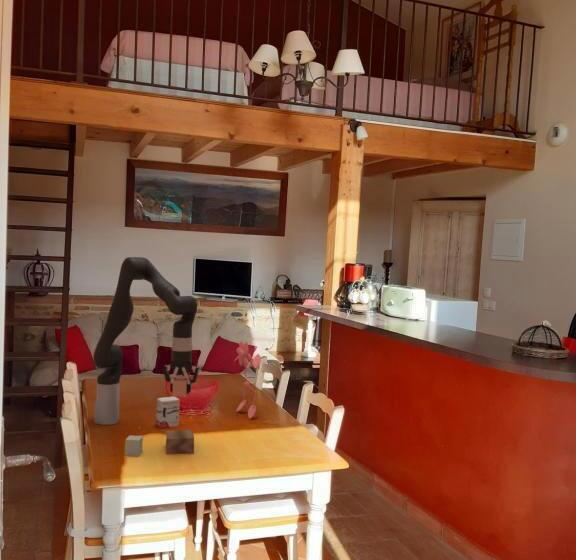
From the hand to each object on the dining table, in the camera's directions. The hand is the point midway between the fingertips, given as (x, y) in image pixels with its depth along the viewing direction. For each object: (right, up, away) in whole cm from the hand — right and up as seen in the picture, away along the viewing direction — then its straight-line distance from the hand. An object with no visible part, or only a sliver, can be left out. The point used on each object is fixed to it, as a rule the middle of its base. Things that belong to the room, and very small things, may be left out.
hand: (180, 393), depth 233 cm
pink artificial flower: (+19, -20, +49) cm, 56 cm away
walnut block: (0, -22, +1) cm, 22 cm away
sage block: (-16, -21, -6) cm, 27 cm away
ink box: (-11, -20, +30) cm, 37 cm away
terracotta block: (0, -1, 0) cm, 1 cm away
